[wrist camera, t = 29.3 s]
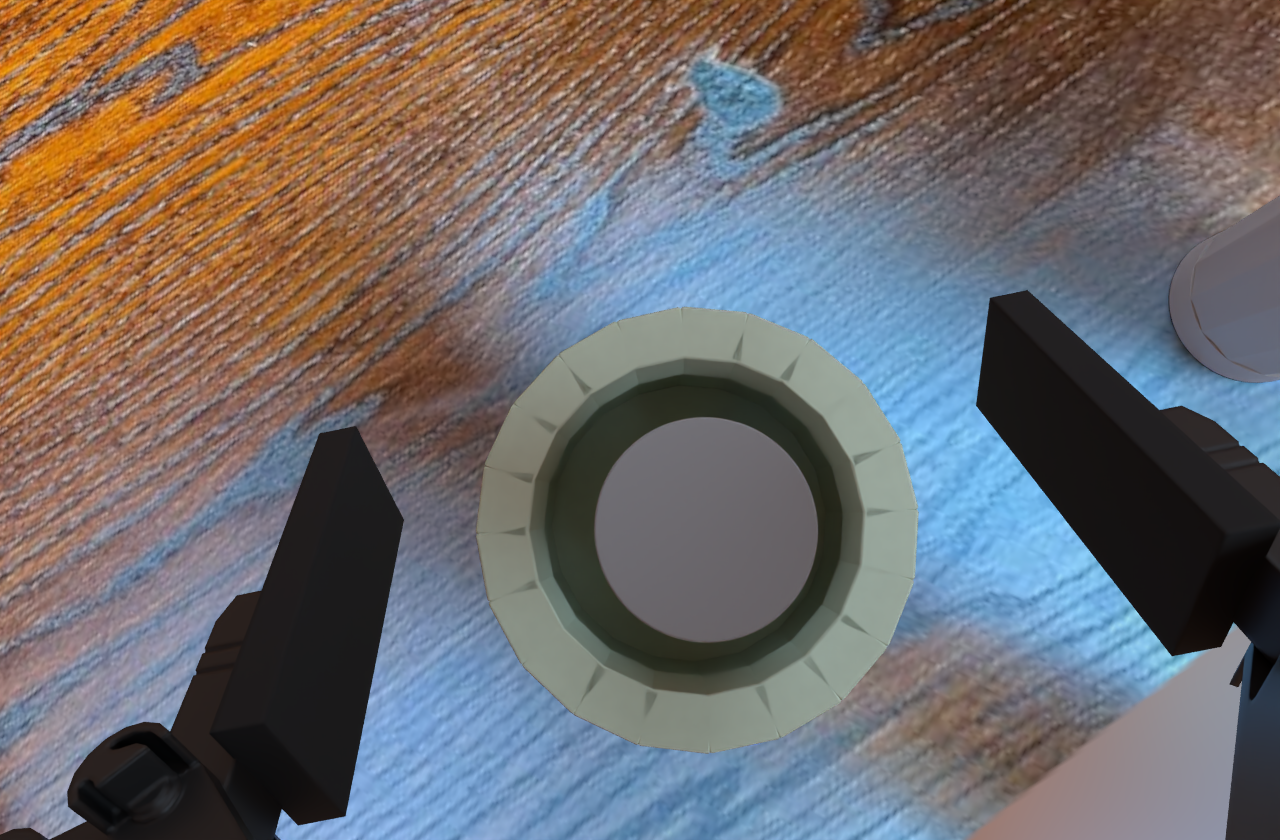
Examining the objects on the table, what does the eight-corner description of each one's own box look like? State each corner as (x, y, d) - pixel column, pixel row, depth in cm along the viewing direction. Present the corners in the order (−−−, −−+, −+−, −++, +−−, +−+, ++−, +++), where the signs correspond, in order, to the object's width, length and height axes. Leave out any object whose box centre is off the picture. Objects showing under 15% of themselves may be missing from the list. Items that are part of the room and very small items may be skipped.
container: (605, 534, 30) (540, 552, 15) (676, 438, 30) (679, 364, 16) (702, 607, 30) (732, 700, 15) (772, 509, 30) (872, 503, 15)
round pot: (633, 731, 30) (613, 839, 20) (487, 466, 31) (401, 443, 21) (896, 575, 30) (1005, 604, 20) (738, 320, 32) (768, 231, 22)
